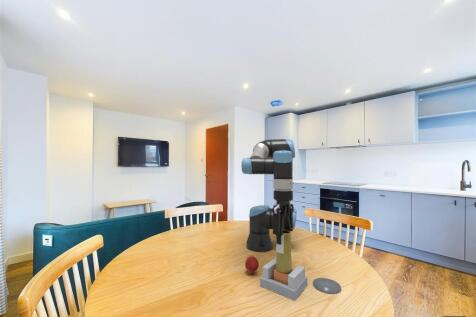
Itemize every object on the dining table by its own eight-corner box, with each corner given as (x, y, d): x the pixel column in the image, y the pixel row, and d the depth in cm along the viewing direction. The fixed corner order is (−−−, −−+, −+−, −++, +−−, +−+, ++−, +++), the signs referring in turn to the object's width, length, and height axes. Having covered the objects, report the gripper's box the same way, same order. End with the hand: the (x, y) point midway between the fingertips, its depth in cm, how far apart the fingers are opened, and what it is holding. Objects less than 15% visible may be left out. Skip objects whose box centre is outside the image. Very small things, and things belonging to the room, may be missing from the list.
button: (273, 279, 80) (273, 270, 80) (280, 273, 84) (280, 265, 84) (287, 284, 76) (287, 274, 76) (293, 278, 80) (293, 269, 81)
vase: (295, 271, 78) (294, 233, 79) (280, 274, 76) (280, 234, 77) (286, 265, 84) (286, 228, 85) (273, 266, 82) (272, 230, 83)
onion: (244, 270, 92) (244, 252, 92) (257, 269, 92) (257, 251, 93) (246, 277, 86) (246, 257, 86) (259, 276, 87) (259, 257, 87)
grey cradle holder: (260, 286, 80) (260, 267, 80) (275, 273, 89) (275, 257, 89) (294, 300, 71) (294, 279, 71) (307, 285, 80) (307, 266, 81)
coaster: (309, 287, 79) (309, 285, 79) (317, 276, 87) (317, 275, 87) (337, 297, 73) (337, 295, 73) (343, 285, 80) (343, 283, 80)
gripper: (281, 192, 72) (281, 260, 71) (301, 188, 87) (302, 245, 85) (262, 191, 77) (262, 255, 76) (284, 187, 91) (285, 241, 90)
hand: (283, 250), depth 80 cm, fingers closed on vase, 5 cm apart
